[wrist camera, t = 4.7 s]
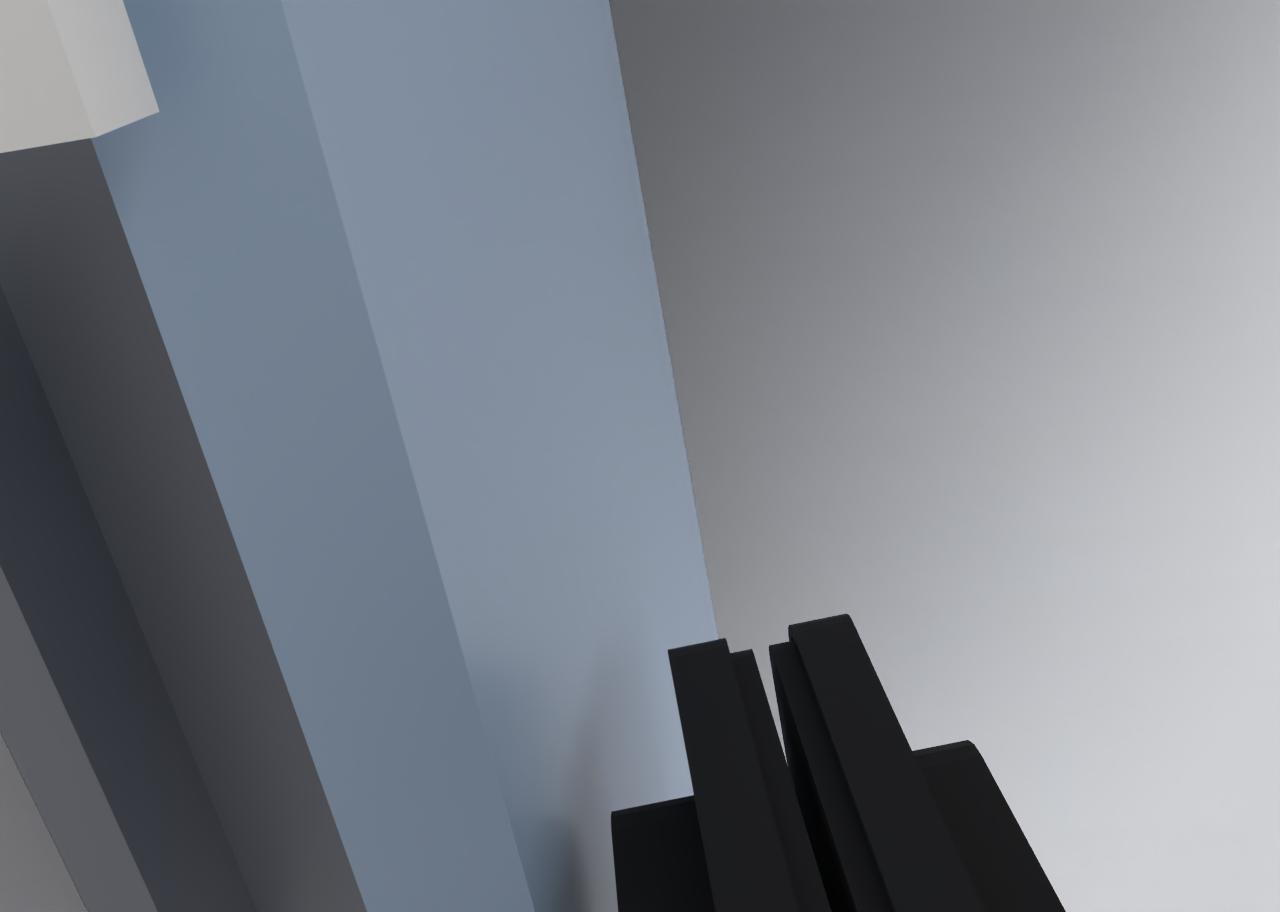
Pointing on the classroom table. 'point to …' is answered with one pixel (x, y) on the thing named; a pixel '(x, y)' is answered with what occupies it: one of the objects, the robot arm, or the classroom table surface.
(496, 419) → the duct cover
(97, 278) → the cable duct
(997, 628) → the classroom table surface
